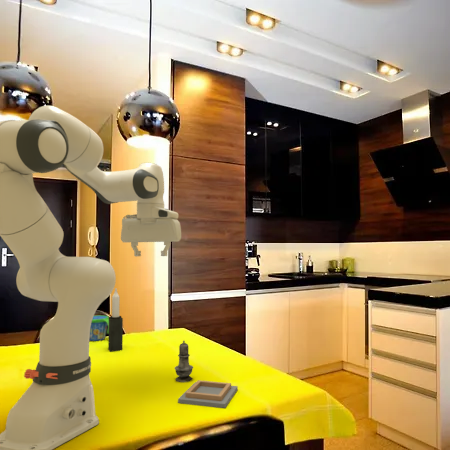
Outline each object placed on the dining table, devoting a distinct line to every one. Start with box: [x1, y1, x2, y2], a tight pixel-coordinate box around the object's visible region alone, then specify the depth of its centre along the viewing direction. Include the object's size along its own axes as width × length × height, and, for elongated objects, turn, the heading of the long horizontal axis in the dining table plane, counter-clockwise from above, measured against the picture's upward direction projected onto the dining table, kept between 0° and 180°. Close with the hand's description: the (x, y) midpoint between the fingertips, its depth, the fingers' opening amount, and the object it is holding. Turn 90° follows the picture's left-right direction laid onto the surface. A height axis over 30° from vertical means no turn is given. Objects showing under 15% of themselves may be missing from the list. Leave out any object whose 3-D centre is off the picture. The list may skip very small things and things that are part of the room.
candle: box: [107, 287, 124, 353], centre depth 154 cm, size 5×5×25 cm
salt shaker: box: [174, 340, 194, 383], centre depth 118 cm, size 6×6×12 cm
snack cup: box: [89, 315, 110, 342], centre depth 172 cm, size 16×10×10 cm
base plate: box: [177, 379, 239, 409], centre depth 103 cm, size 13×13×2 cm
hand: (150, 256), depth 121 cm, fingers open, 8 cm apart
